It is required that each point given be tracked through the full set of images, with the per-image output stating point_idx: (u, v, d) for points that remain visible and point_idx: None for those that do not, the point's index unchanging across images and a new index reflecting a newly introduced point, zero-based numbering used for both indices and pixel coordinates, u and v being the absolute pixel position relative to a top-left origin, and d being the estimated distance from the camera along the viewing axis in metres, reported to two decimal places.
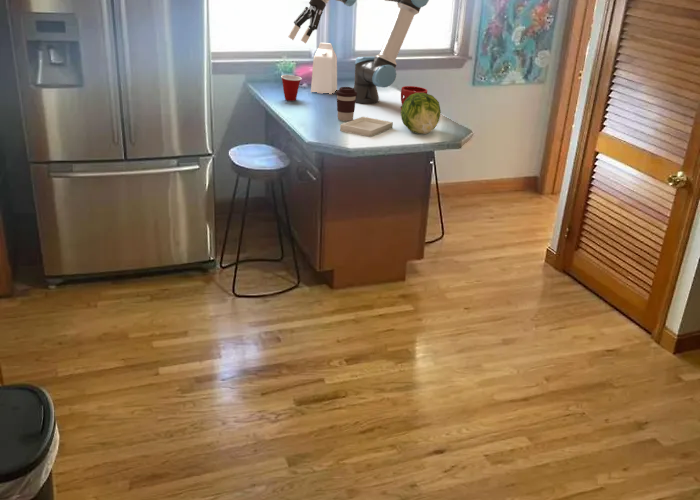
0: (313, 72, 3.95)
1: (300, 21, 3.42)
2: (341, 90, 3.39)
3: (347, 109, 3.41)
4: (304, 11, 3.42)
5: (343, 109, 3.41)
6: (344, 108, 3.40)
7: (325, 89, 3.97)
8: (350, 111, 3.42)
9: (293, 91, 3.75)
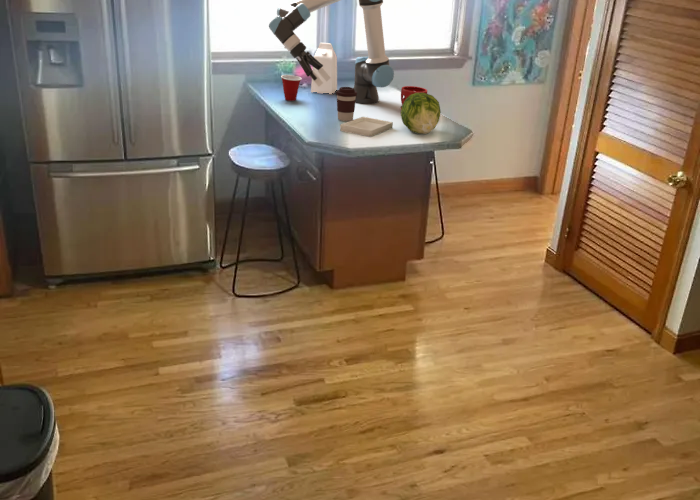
0: None
1: (314, 66, 3.46)
2: (341, 90, 3.39)
3: (347, 109, 3.41)
4: None
5: (343, 109, 3.41)
6: (344, 108, 3.40)
7: (325, 89, 3.97)
8: (350, 111, 3.42)
9: (293, 91, 3.75)
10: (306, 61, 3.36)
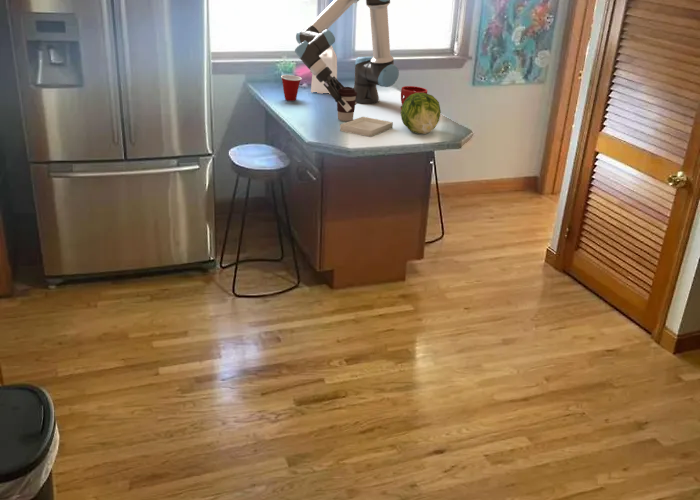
0: None
1: None
2: (341, 90, 3.39)
3: None
4: None
5: (343, 109, 3.41)
6: None
7: (325, 89, 3.97)
8: (350, 111, 3.42)
9: (293, 91, 3.75)
10: (333, 86, 3.38)
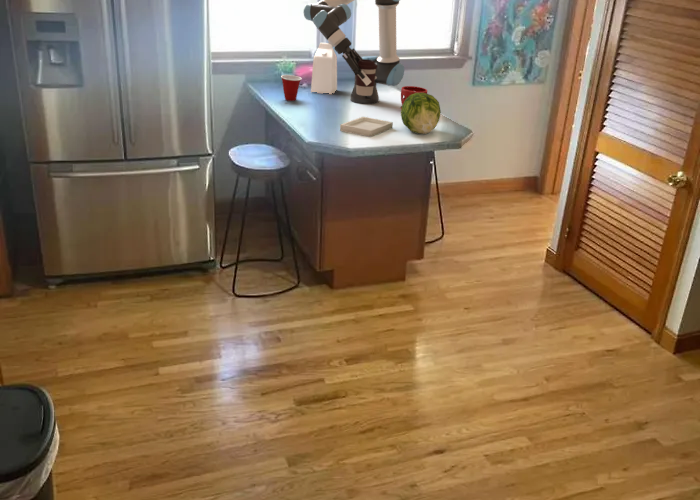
0: (313, 72, 3.95)
1: None
2: (360, 62, 3.21)
3: None
4: None
5: (363, 82, 3.23)
6: (363, 82, 3.22)
7: (325, 89, 3.97)
8: (369, 85, 3.24)
9: (293, 91, 3.75)
10: (352, 58, 3.20)
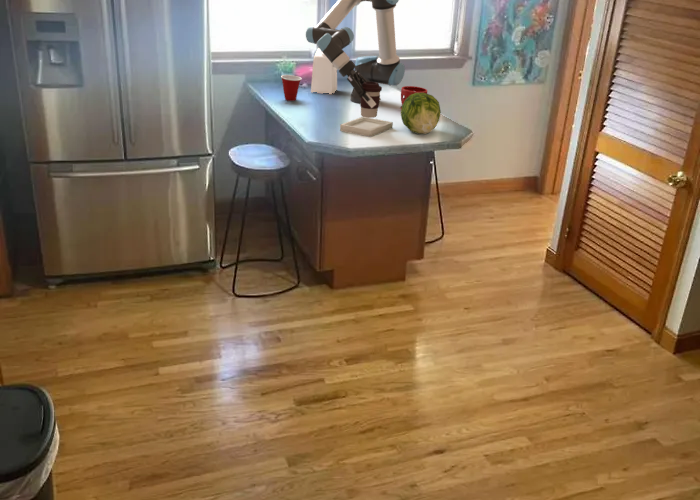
0: (313, 72, 3.95)
1: None
2: (365, 85, 3.23)
3: None
4: None
5: (367, 105, 3.25)
6: (368, 104, 3.24)
7: (325, 89, 3.97)
8: (374, 107, 3.26)
9: (293, 91, 3.75)
10: (357, 81, 3.22)
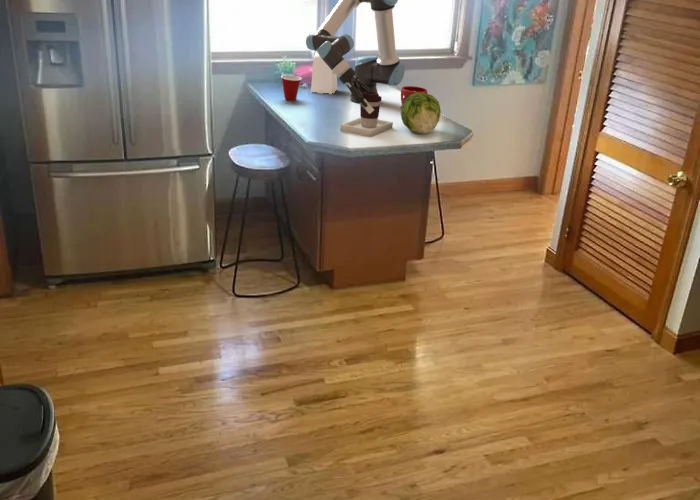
0: (313, 72, 3.95)
1: (363, 91, 3.33)
2: (365, 95, 3.25)
3: (371, 115, 3.27)
4: None
5: (367, 115, 3.27)
6: (368, 114, 3.27)
7: (325, 89, 3.97)
8: (374, 117, 3.28)
9: (293, 91, 3.75)
10: (356, 87, 3.23)
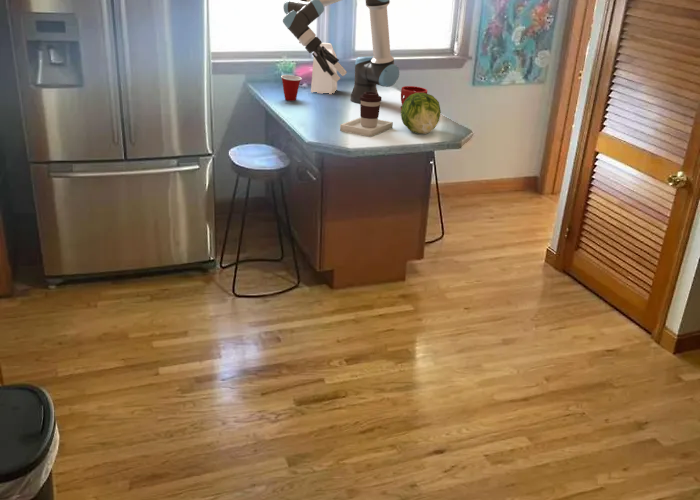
0: (313, 72, 3.95)
1: (330, 61, 3.37)
2: (365, 95, 3.25)
3: (371, 115, 3.27)
4: None
5: (367, 115, 3.27)
6: (368, 114, 3.27)
7: (325, 89, 3.97)
8: (374, 117, 3.28)
9: (293, 91, 3.75)
10: (322, 56, 3.27)
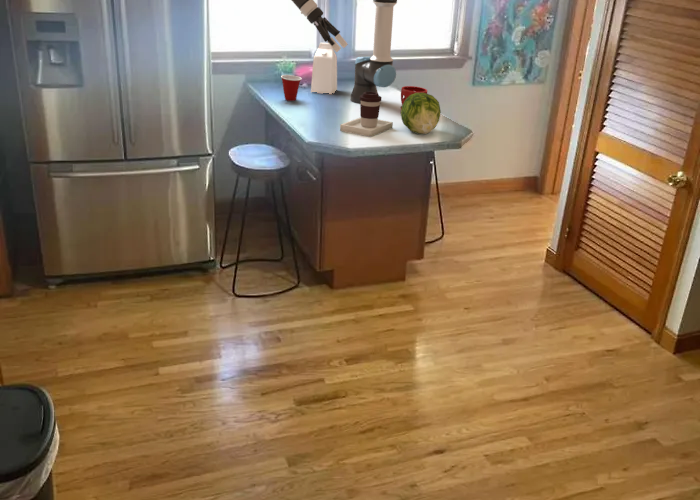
0: (313, 72, 3.95)
1: (331, 32, 3.40)
2: (365, 95, 3.25)
3: (371, 115, 3.27)
4: None
5: (367, 115, 3.27)
6: (368, 114, 3.27)
7: (325, 89, 3.97)
8: (374, 117, 3.28)
9: (293, 91, 3.75)
10: (323, 26, 3.30)
